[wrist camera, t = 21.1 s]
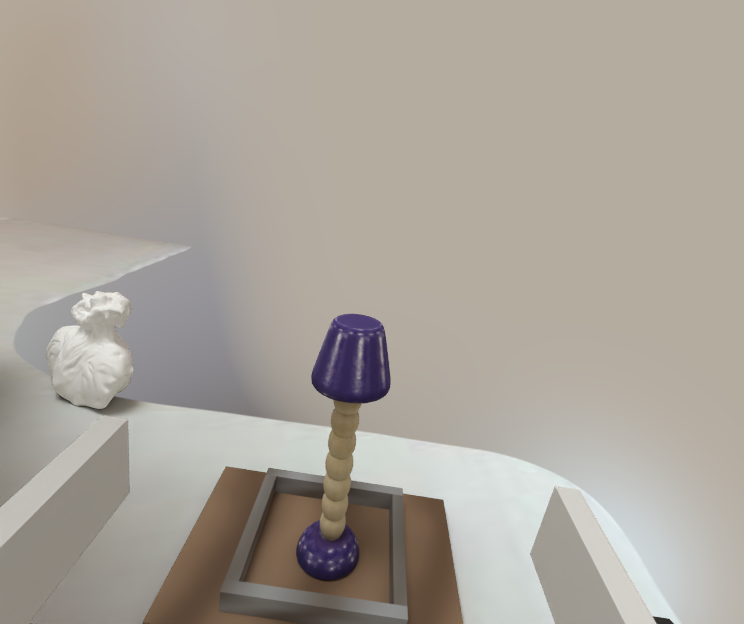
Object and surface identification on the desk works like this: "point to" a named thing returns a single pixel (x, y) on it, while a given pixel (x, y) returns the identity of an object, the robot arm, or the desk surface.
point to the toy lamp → (343, 436)
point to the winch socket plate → (281, 568)
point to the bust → (92, 352)
